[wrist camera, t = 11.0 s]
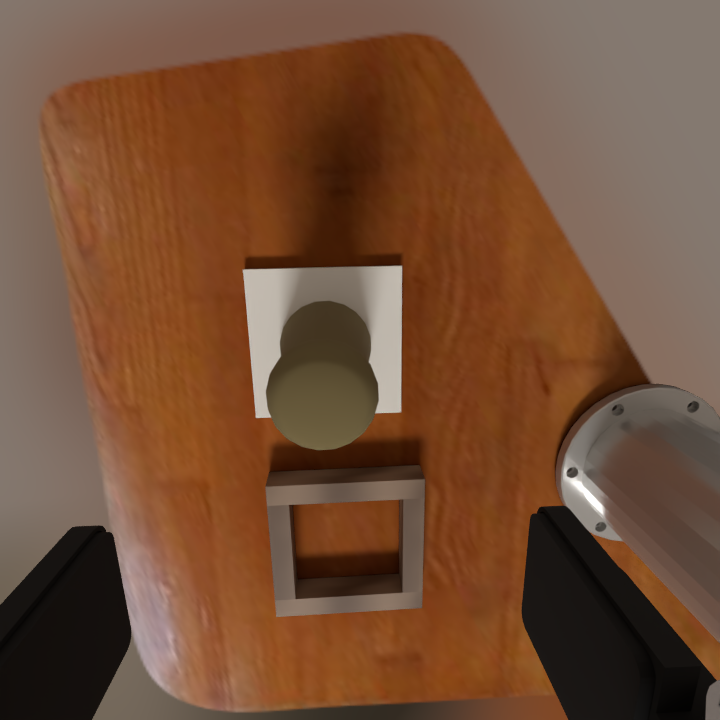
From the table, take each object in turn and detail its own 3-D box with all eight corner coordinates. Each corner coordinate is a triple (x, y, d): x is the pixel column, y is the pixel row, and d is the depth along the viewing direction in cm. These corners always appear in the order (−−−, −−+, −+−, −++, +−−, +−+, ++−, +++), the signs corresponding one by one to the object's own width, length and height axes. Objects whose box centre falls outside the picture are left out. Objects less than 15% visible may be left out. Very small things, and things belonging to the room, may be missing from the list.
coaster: (400, 265, 29) (402, 266, 29) (399, 409, 32) (401, 412, 32) (244, 269, 29) (243, 269, 28) (257, 414, 32) (256, 418, 31)
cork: (282, 296, 29) (253, 333, 18) (376, 305, 29) (400, 346, 19) (277, 385, 31) (247, 466, 20) (366, 392, 31) (383, 475, 20)
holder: (419, 465, 33) (425, 479, 32) (417, 588, 36) (421, 607, 35) (269, 472, 33) (265, 486, 31) (279, 596, 36) (276, 616, 34)
